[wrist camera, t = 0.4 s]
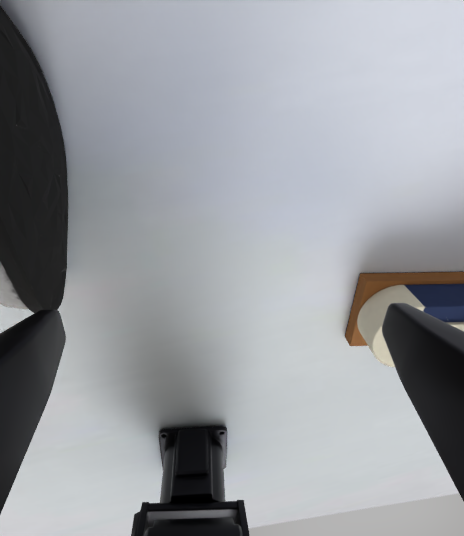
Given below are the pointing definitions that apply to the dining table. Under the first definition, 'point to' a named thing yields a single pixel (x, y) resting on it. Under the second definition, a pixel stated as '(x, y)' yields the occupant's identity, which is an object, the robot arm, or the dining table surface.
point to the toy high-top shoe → (402, 291)
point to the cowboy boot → (30, 181)
